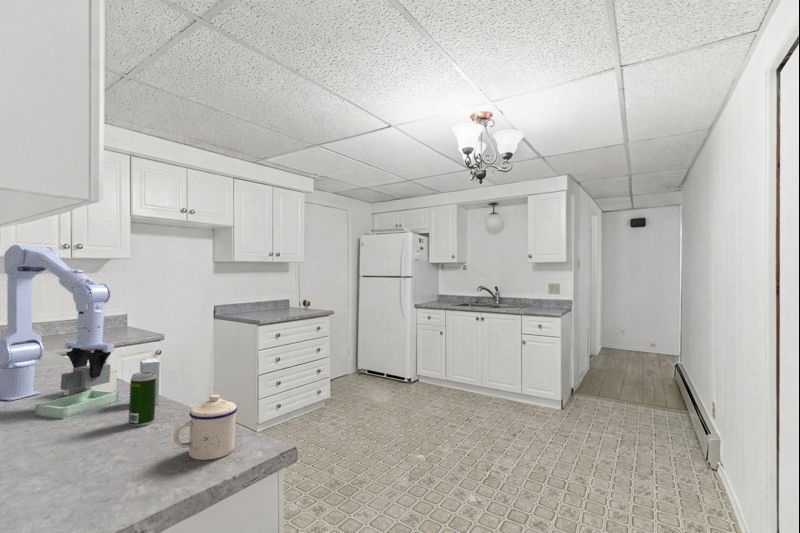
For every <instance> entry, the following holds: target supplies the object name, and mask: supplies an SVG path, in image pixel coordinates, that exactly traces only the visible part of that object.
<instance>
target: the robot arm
mask: <svg viewBox="0 0 800 533" xmlns="http://www.w3.org/2000/svg"><path fill="white" fill-rule="evenodd" d="M45 271H48V272H50V273H51V274H53V275H55V276H56V277H57V278H58V283H59V285H60V286H62V287H63V288H64V289H66V290H67V291H68V292H69V293H71V294H72V299H73V302H74V303H75V310H76V311H77V325H76V340H74V341H73V340H70V341H65V343H64V350H70V351H66V356H67V357H68V358H69V360H70V362H71V365H72V368H77V367H82V366H87V365H90V377H91V378H96V377H100V374H101V371H102V368H103V366H104V364H106V361H107V360H108V358H109V357H110V356H111V354H112V352H115V344H113V343H108V342H103V339H104V338H103V337H104V320H105V319H104V318H105V304H106V303H108V302H109V301H110V299H111V290H110V287H108V286H107V284H105V283H98V282H96V281H94V279H92V278H90V277H89V276H88V275H86V274H85V273H84V270H82V269H77V268H70V267H69V266H68V265H67V264H66V263H65V261H63V260H62V259H61V258H60V257H59V252H58V251H56V250H55V249H54V248H52V247H49V246H47V247H44V246H30V245H20V244H13V245H11V246H10V247H9V248H8V249H7V250H6V251H5V252H4V273H5V274H7V285H6V286H7V292H6V293H7V295H6V296H7V298H6V299H7V305H6V306H7V307H6V308H7V309H6V310H7V317H6V320H7V325H6V326H7V332H6V333H5V334H4V335H2V336H0V400H1V401H2V400H3V401H9V402H10V401H11V402H12V401H16V400H19V399H23V398H28V397H31V396H35V395H40V394H42V390H40V391H39V390H34V386H35V371H36V370H35V368H36V364H38V363H39V361H40V360H41V359H42V357H43V355H44V352H45V347H44V345H43V343H42V336H41V335H40V334H38V333H36V332H35V331H33V278H34V277H36V276H37V275H40V274H42V273H44V272H45Z"/></svg>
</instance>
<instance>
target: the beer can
mask: <svg viewBox="0 0 800 533" xmlns="http://www.w3.org/2000/svg"><path fill="white" fill-rule="evenodd" d="M155 374H156V373H155V372H141V373H140V372H136V373H133V374H131V378H130V386H129V404H128V408H129V409H128V424H129V426H130V427H133V428H138V427H146V426H149V425H151V424H153V422H154V421H155V417H156V415H155V414H156V413H155V412H156V405H155V397H156V375H155Z"/></svg>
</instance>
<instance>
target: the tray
mask: <svg viewBox="0 0 800 533" xmlns="http://www.w3.org/2000/svg"><path fill="white" fill-rule="evenodd" d="M116 401H117V402H119V391H103V390H94V389H92V390H89V391H87V390H86V391H83V392H79V393H75V394H72V395H66V396H63V397H61V398H56V399H53V400H48V401H45V402H42V403H39V404H35V407H34V416H38V415H41V416H40V417H46V416H47V417H48V418H56V419H61V420H63V419H67V418H69V417H70V418H71V417H72V416H76V415H79V413H80V414H82V412H83V413H85V411H86V412H89V411H92V410H94V408H95V409H97V407H98V408H101V407H104V406H106V404H107V405H110V404H114V403H117V402H116ZM109 403H110V404H109ZM103 405H104V406H103ZM100 406H101V407H100ZM88 410H89V411H88Z"/></svg>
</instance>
